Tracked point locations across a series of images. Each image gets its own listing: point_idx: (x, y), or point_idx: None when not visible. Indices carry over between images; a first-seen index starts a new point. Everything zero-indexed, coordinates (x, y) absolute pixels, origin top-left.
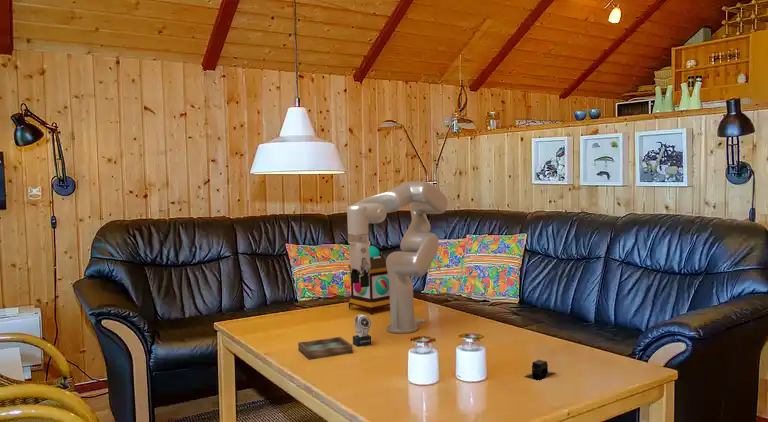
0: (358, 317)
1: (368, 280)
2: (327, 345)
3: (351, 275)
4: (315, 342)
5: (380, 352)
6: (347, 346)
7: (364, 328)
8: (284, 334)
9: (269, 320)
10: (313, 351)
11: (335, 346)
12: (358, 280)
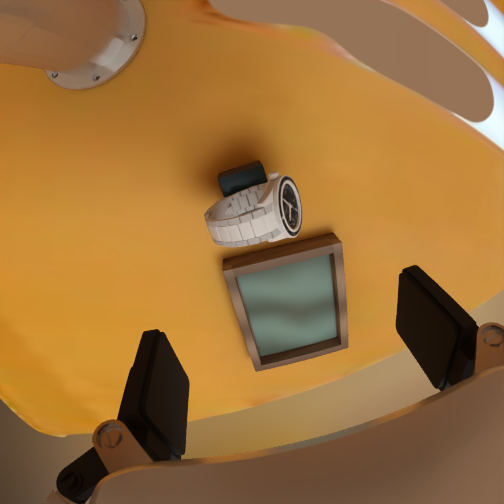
0: (277, 240)
1: (446, 297)
2: (267, 302)
3: (180, 439)
4: (252, 335)
5: (357, 150)
6: (342, 256)
7: (300, 204)
8: (100, 375)
9: (5, 378)
10: (347, 337)
11: (287, 282)
12: (163, 350)
